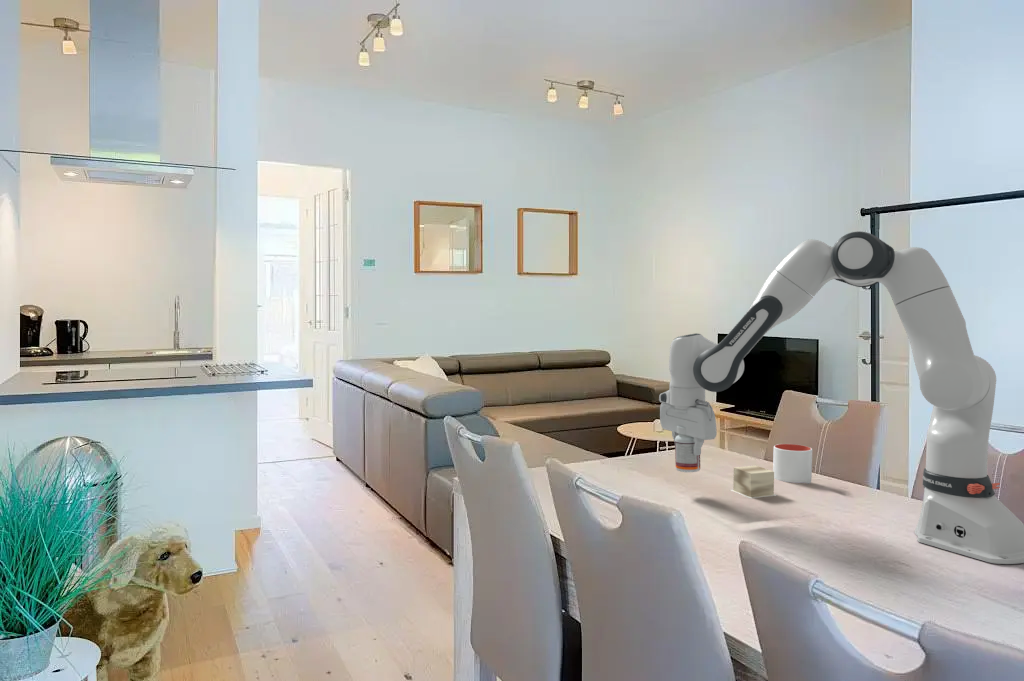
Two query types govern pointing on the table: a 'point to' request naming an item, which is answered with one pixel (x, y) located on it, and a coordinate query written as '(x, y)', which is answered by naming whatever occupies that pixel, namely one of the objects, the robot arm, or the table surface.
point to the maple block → (753, 481)
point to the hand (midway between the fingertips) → (687, 452)
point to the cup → (792, 463)
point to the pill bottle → (685, 452)
